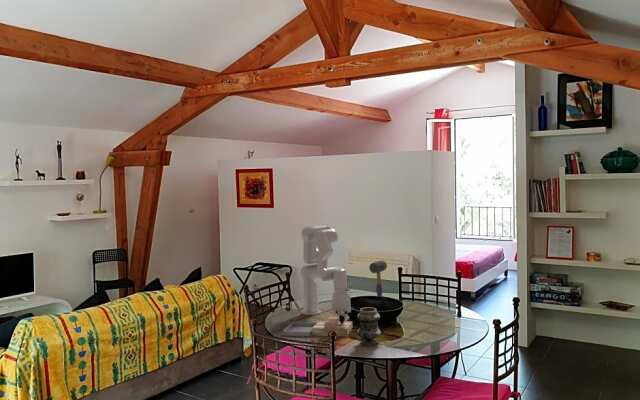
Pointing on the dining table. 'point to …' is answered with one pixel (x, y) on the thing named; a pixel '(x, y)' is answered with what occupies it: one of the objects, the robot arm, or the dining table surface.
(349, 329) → the cream slotted tray
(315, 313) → the robot arm
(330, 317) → the tile
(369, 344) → the apothecary jar
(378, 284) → the rubber mallet
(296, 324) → the tray
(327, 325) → the tile
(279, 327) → the dining table surface
